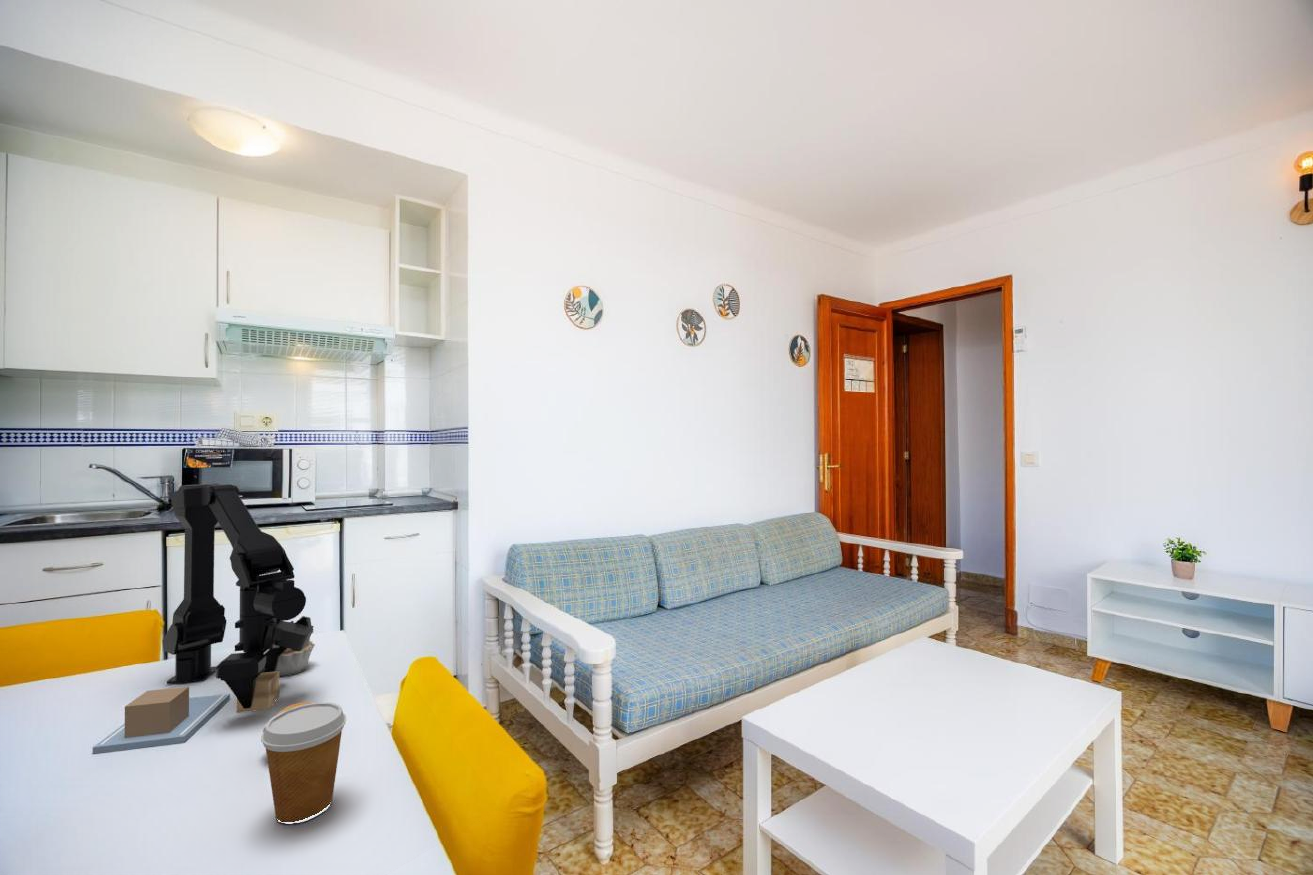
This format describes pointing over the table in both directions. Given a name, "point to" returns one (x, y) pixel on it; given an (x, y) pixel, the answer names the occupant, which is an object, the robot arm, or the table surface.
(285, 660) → the cupcake
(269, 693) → the oak cube
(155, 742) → the blueprint board
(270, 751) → the disposable coffee cup
